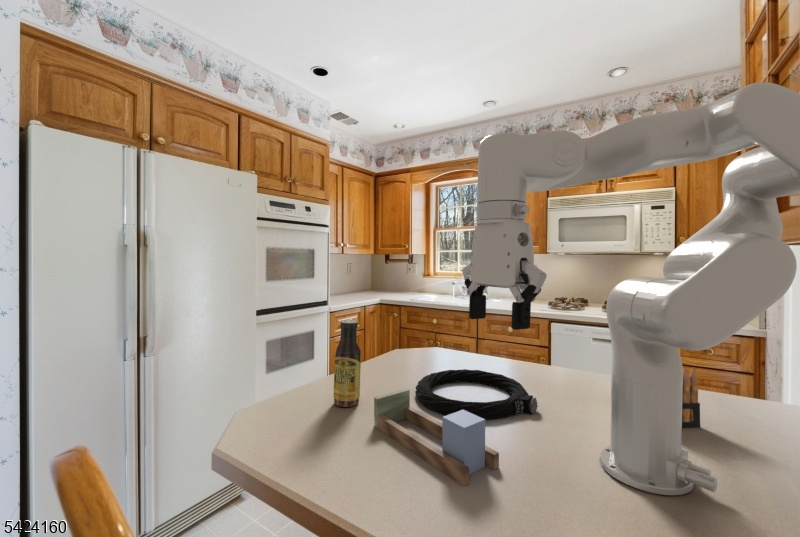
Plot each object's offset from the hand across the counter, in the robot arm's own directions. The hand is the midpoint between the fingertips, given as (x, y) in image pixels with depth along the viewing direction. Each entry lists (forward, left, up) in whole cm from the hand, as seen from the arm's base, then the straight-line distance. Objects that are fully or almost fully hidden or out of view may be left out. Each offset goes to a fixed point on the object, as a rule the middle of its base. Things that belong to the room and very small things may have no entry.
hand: (497, 323), depth 58 cm
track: (+13, +2, -24) cm, 28 cm away
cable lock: (+24, -22, -25) cm, 41 cm away
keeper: (+5, +2, -24) cm, 25 cm away
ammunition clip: (-11, -43, -25) cm, 50 cm away
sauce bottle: (+40, +5, -25) cm, 47 cm away
